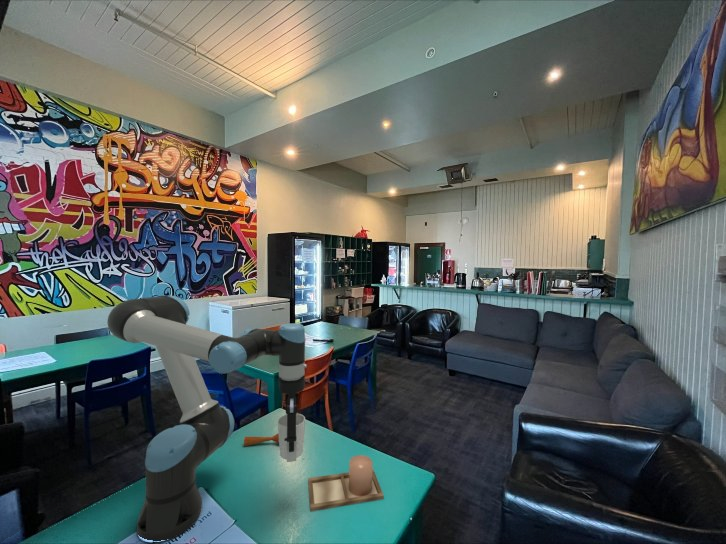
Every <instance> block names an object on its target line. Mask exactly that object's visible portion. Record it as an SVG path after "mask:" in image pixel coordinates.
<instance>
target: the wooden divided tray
mask: <svg viewBox="0 0 726 544" xmlns="http://www.w3.org/2000/svg"><path fill="white" fill-rule="evenodd" d="M307 481H308V482H307V483H308V484H307V485H308V495H309V496H308V497H309V509H310V511H309V512H315V511H321V510H327V509H328V510H329V509H333V508H338V507H339V508H340V507H344V506H350V505H354V504H356V505H357V504H364V503H368V502H375V501H380V500H384V498H385V496H384V493H383V491H382V487H381V485H380V483H379V480H378V477H377V475H376V473H375V469H374V468H372V490H371V492H370V493H369V494H368V495H365V496H356V495H354V494H352V493H351V492H350V490H349V472H341V473H336V474H328V475H327V474H326V475H321V476H314V477H309V478H308V479H307Z"/></svg>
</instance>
